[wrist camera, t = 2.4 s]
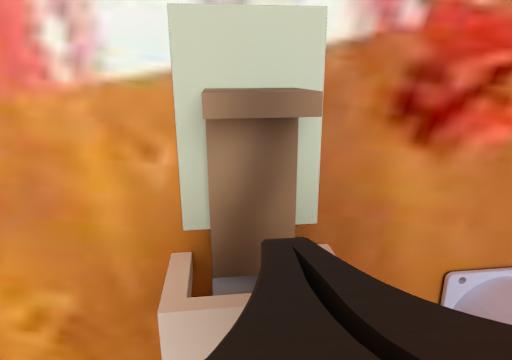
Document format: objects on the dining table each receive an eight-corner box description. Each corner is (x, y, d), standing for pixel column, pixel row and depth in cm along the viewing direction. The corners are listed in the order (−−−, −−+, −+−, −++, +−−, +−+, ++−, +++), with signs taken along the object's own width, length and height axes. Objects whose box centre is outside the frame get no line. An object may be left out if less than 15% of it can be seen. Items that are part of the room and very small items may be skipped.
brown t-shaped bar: (295, 87, 19) (322, 91, 14) (288, 348, 24) (307, 417, 19) (204, 88, 18) (201, 92, 13) (216, 355, 23) (217, 428, 18)
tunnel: (327, 243, 22) (364, 297, 17) (322, 336, 24) (353, 410, 19) (171, 253, 21) (157, 313, 16) (179, 349, 23) (169, 431, 18)
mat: (326, 6, 18) (327, 6, 18) (316, 222, 22) (316, 223, 21) (167, 4, 17) (167, 3, 17) (183, 229, 21) (183, 230, 20)
